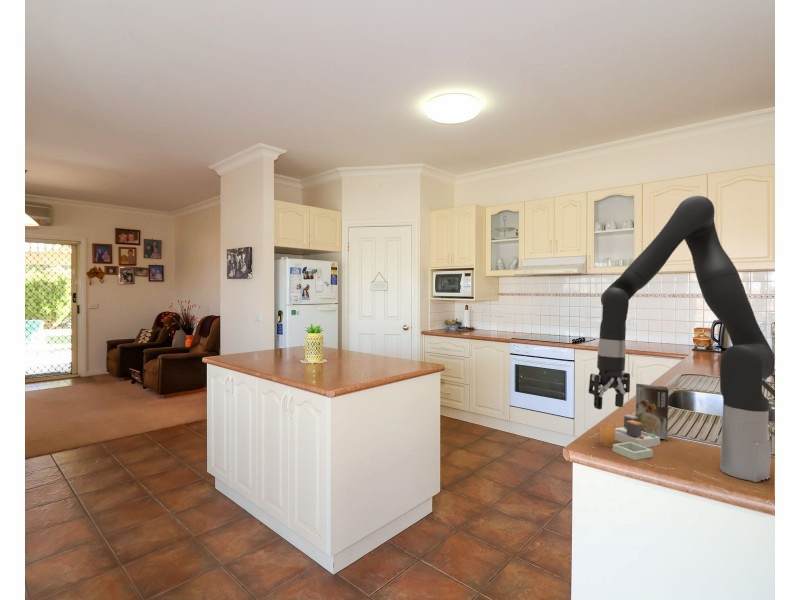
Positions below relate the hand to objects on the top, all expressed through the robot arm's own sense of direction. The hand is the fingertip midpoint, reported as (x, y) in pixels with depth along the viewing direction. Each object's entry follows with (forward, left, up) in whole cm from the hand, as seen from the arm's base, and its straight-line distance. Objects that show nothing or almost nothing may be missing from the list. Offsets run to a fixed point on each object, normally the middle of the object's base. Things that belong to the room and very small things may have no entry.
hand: (608, 407), depth 134 cm
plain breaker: (+2, -13, -8) cm, 15 cm away
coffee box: (+1, -21, -11) cm, 23 cm away
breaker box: (-1, -10, -11) cm, 15 cm away
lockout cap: (0, 0, -11) cm, 11 cm away
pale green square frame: (-9, 0, -11) cm, 14 cm away
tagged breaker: (-3, -8, -8) cm, 11 cm away
